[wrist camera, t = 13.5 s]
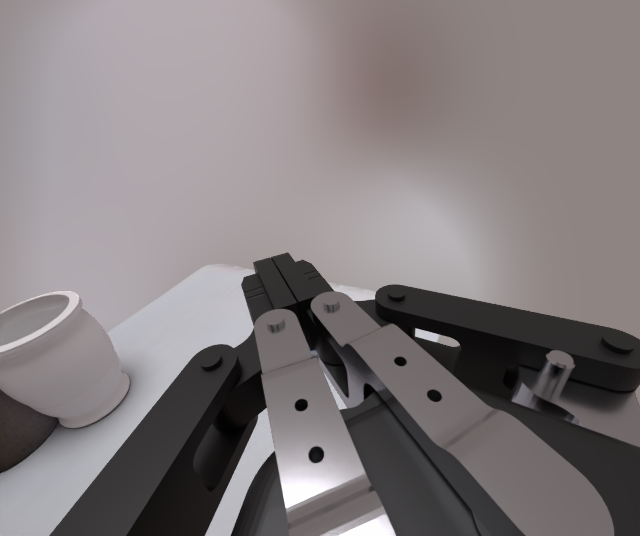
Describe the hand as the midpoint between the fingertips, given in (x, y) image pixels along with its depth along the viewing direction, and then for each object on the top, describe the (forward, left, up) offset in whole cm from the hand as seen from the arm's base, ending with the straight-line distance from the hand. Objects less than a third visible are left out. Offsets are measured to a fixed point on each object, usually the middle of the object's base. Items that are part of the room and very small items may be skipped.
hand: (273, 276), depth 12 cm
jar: (+10, +34, -26) cm, 44 cm away
